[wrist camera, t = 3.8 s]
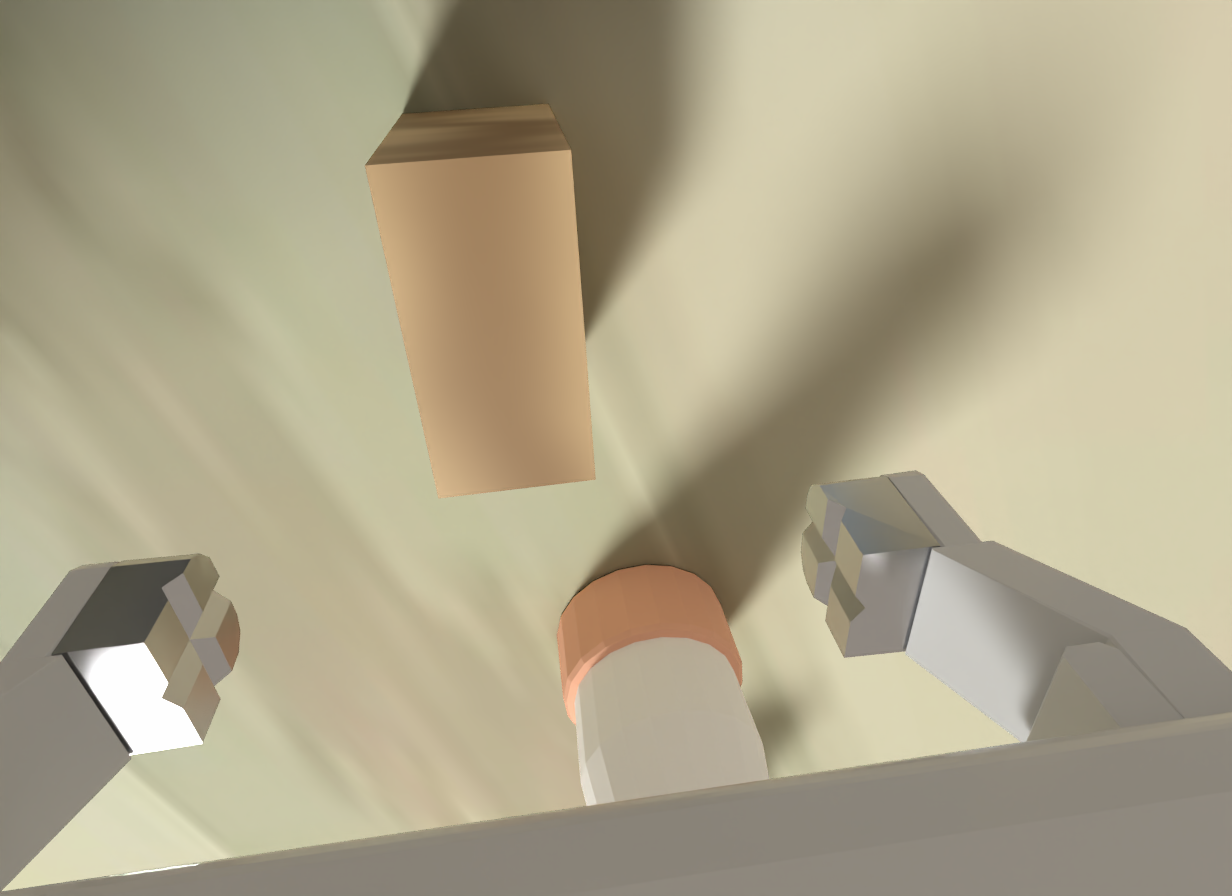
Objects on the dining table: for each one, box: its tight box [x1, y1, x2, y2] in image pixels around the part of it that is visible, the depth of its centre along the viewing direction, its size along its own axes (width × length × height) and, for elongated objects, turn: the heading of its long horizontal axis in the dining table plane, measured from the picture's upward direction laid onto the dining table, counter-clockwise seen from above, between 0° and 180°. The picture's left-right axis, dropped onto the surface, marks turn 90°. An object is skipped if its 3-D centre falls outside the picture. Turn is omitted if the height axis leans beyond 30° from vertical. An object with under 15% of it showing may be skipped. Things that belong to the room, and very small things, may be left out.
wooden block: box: [365, 104, 595, 498], centre depth 19 cm, size 4×8×7 cm, turn 3°
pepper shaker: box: [557, 565, 769, 806], centre depth 24 cm, size 7×7×19 cm
